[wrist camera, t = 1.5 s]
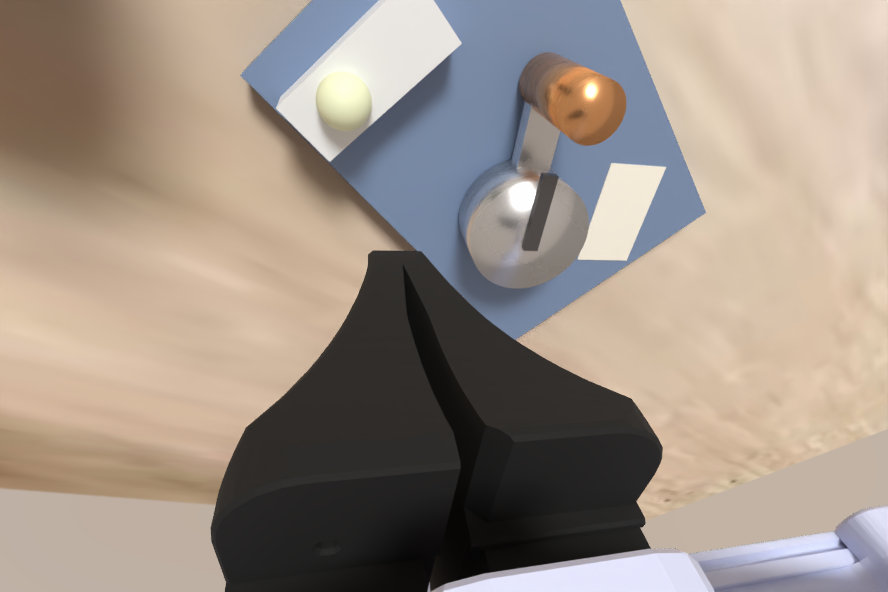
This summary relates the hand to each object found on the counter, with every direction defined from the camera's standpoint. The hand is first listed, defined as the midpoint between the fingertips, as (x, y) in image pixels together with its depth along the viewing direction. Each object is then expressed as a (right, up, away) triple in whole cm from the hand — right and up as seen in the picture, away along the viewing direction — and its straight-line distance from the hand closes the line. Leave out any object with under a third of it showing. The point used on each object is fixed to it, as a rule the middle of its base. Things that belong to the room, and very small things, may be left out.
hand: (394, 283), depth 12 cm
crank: (+5, +5, +8) cm, 10 cm away
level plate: (+4, +6, +8) cm, 11 cm away
